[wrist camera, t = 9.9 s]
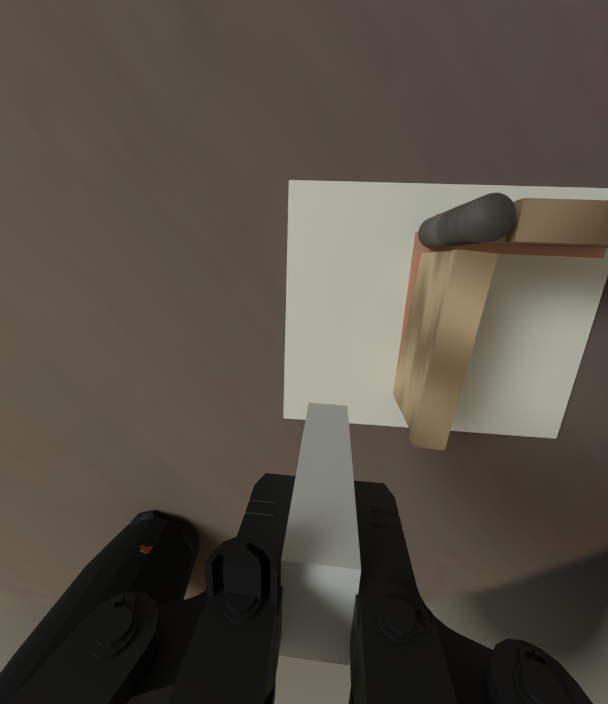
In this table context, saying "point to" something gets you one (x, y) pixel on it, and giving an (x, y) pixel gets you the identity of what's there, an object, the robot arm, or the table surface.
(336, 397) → the board
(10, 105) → the table surface
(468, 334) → the fence panel
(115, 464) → the table surface
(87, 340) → the table surface
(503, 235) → the fence section
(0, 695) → the portable speaker
